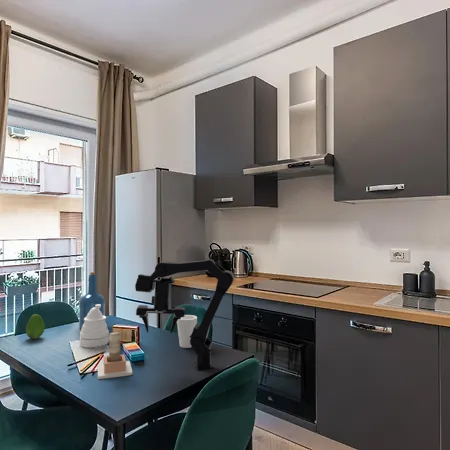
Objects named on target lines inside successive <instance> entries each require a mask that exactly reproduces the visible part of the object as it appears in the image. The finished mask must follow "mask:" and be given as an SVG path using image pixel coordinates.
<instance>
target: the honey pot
mask: <svg viewBox="0 0 450 450" xmlns="http://www.w3.org/2000/svg"><path fill="white" fill-rule="evenodd" d="M100 307H101V305H100V304H97V305H95V307H93V308H92V309H91V310H90V311H89V313H88V314H87V317H85V318H84V324H83V326H82V329H81V330H80V332H79V346H80V345H82V346H89V347H88V348H98V347H97V346H99V347H102V345H103V346H105V344H106V345H107V344H108V343H109V334H110V331H109V329H108V326H107V323H106V320H107V316H106V315H105V316H103V315H102V313H101V311H100V310H99V309H100ZM82 346H81V347H82Z"/></svg>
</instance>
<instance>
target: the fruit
mask: <svg viewBox="0 0 450 450" xmlns="http://www.w3.org/2000/svg"><path fill="white" fill-rule="evenodd" d="M45 326H46V325H45V322H44V320H43V318H42V317H41V315H40V314H37V313H34V314H32V315H31V316H30V318H29V320H28V322H27V323H26V328H25V334H26V336H27V337H28V338H29V339H31V340H36V339H39V338H41V336H42V335H43V334H44V332H45Z"/></svg>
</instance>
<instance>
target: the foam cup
mask: <svg viewBox="0 0 450 450" xmlns="http://www.w3.org/2000/svg"><path fill="white" fill-rule="evenodd" d="M176 324H177V333H178V334H177V335H178V341H179V342H178V343H179V347H180V348H184V349H188V348H189V349H190V348H193V347H192V346H191V344H190V339H191V338H190V335H191V334H192V332H193V329H194V327H195V325H196V324H198V317H197V316H196V315H192V314H184V317H181V319H178V321H177V322H176Z"/></svg>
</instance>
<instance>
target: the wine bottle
mask: <svg viewBox="0 0 450 450" xmlns="http://www.w3.org/2000/svg"><path fill="white" fill-rule="evenodd" d="M97 280H98V279H97V274H96V272H95V271H90V272H89V275H88V285H87V286H88V287H87V288H88V290H87V294H85V295H83V296H82V297H80V300H79V314H78V315H79V321H78V323H79V325H78V326H79V329H82V326H83V324H84V318H85V317H87V314H88V313H89V311H90V310H91V309H92V308H93V307H95V305H97V304H100V305H101V307H100V309H99V310H100V311H101V313H102V315H103V316H106V300H105V297H104V296H103V294H100V293H99V292H97V291H98V290H97V289H98V288H97Z"/></svg>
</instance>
